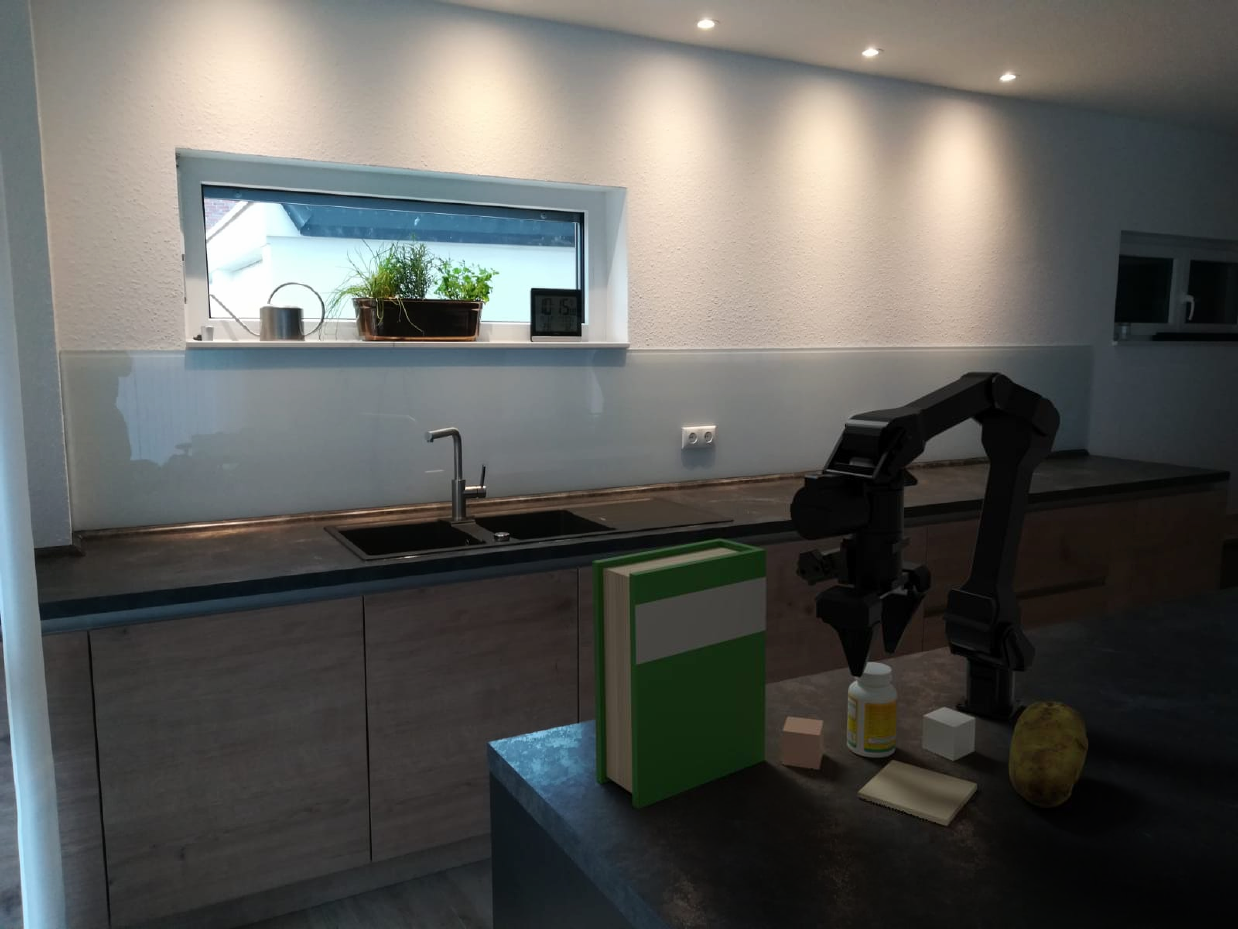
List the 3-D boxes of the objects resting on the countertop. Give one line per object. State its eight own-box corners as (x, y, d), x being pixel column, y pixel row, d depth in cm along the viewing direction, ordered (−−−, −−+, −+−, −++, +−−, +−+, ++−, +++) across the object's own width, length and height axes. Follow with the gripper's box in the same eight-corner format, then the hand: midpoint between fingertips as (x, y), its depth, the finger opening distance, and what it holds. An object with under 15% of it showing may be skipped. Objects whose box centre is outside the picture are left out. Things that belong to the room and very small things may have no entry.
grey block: (942, 739, 104) (944, 707, 103) (974, 751, 101) (975, 718, 100) (922, 749, 102) (923, 715, 101) (953, 761, 98) (954, 727, 98)
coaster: (892, 765, 98) (892, 760, 97) (976, 789, 92) (977, 784, 92) (857, 797, 91) (857, 792, 90) (946, 826, 85) (947, 820, 85)
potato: (975, 794, 91) (978, 719, 90) (1030, 754, 100) (1033, 686, 98) (1060, 825, 85) (1064, 745, 84) (1110, 780, 93) (1114, 707, 92)
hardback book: (638, 809, 89) (634, 575, 86) (596, 780, 95) (592, 561, 92) (764, 760, 99) (766, 549, 96) (720, 737, 105) (720, 538, 102)
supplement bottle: (838, 749, 102) (839, 668, 100) (861, 734, 105) (862, 656, 104) (882, 764, 98) (884, 680, 97) (904, 747, 102) (906, 667, 100)
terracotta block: (787, 749, 102) (787, 716, 101) (823, 754, 101) (823, 720, 100) (782, 765, 98) (782, 730, 98) (818, 770, 97) (819, 735, 96)
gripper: (844, 508, 111) (842, 630, 113) (770, 534, 96) (769, 673, 98) (934, 518, 104) (930, 647, 106) (868, 547, 89) (865, 696, 91)
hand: (873, 664), depth 100 cm, fingers open, 9 cm apart
